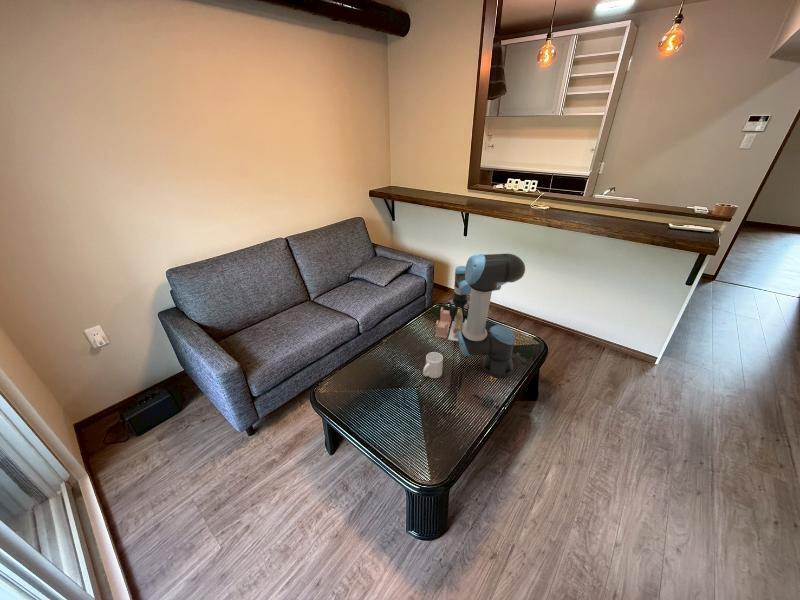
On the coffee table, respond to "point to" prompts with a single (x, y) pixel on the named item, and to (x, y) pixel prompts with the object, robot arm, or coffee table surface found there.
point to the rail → (458, 322)
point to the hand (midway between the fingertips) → (458, 325)
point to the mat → (454, 335)
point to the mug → (433, 365)
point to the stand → (443, 324)
